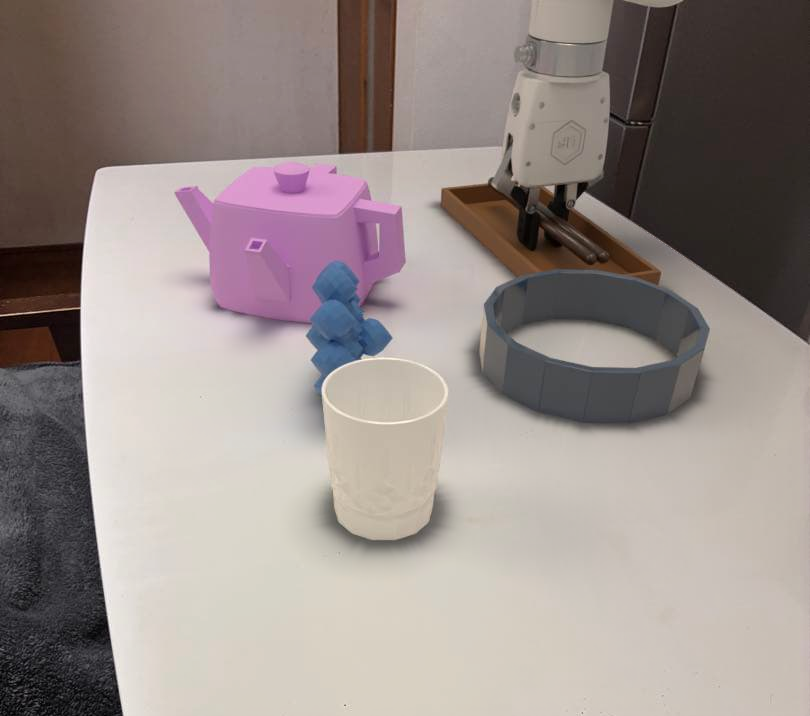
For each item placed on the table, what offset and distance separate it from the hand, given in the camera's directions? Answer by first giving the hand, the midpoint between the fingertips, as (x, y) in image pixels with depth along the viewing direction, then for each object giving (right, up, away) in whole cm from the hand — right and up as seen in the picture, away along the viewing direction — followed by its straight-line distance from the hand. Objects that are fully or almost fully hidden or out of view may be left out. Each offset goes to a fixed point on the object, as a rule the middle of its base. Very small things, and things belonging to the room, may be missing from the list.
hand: (540, 242), depth 95 cm
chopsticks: (0, +2, -1) cm, 2 cm away
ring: (+1, -18, -19) cm, 26 cm away
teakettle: (-26, -9, -10) cm, 29 cm away
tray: (0, 0, 0) cm, 1 cm away
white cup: (-17, -31, -35) cm, 50 cm away
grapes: (-19, -22, -24) cm, 38 cm away
